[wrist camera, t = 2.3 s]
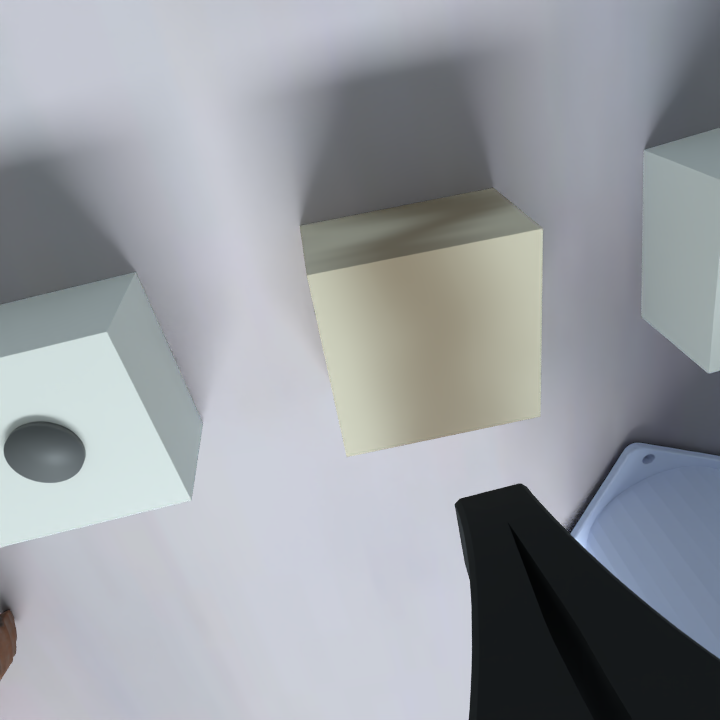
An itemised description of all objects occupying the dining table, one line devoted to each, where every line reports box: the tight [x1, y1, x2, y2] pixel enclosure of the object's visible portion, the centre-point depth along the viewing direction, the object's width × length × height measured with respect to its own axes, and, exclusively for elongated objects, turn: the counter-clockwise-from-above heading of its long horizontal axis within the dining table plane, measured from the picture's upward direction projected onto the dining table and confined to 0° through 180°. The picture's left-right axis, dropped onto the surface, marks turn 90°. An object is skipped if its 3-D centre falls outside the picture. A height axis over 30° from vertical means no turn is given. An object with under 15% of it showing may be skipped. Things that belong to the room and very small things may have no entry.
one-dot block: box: [0, 272, 203, 547], centre depth 18 cm, size 6×6×4 cm
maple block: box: [300, 188, 543, 457], centre depth 18 cm, size 6×6×4 cm
